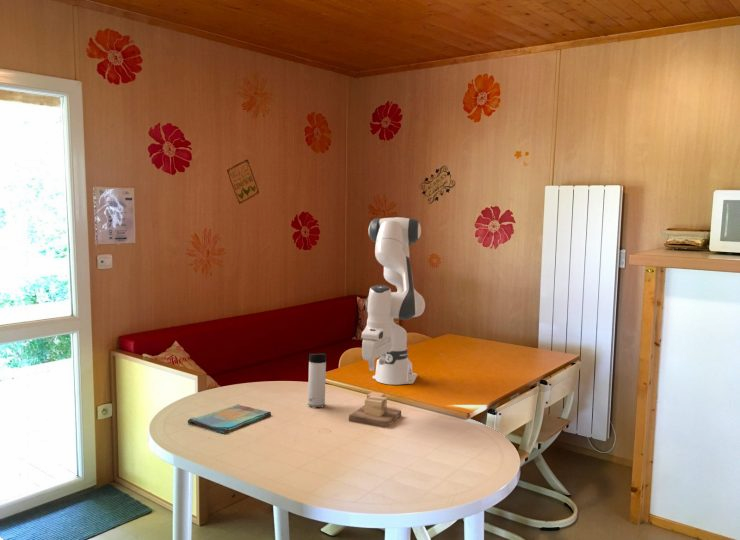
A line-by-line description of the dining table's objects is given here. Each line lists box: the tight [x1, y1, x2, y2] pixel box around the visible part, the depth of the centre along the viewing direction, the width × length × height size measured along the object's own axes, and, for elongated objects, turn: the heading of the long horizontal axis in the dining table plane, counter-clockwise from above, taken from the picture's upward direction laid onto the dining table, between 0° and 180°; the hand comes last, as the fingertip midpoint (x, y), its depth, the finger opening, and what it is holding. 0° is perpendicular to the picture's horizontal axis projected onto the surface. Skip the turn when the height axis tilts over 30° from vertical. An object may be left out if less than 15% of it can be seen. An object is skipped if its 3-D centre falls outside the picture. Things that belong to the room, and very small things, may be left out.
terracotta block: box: [366, 391, 386, 399], centre depth 221 cm, size 5×5×5 cm
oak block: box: [364, 396, 388, 416], centre depth 208 cm, size 6×6×5 cm
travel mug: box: [307, 352, 327, 408], centre depth 220 cm, size 6×7×20 cm
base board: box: [348, 404, 402, 428], centre depth 208 cm, size 14×14×2 cm
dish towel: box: [187, 403, 272, 435], centre depth 202 cm, size 17×23×2 cm
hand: (377, 367), depth 218 cm, fingers open, 8 cm apart
